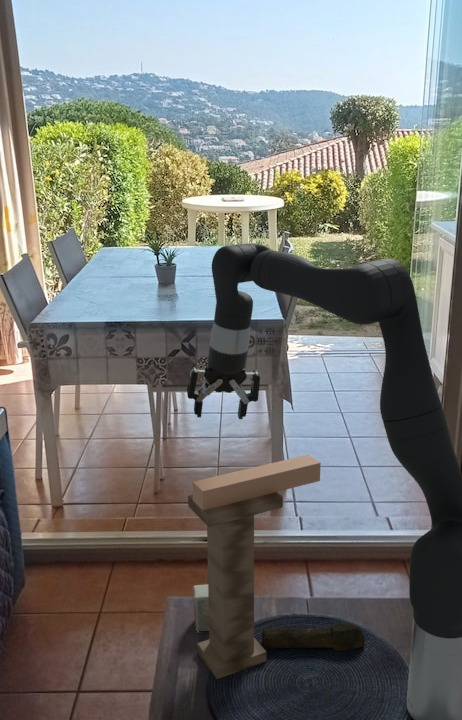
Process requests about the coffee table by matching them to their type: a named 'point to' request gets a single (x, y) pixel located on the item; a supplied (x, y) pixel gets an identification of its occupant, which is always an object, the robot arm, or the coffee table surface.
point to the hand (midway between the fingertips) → (219, 416)
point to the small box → (201, 607)
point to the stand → (232, 584)
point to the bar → (255, 482)
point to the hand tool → (314, 637)
